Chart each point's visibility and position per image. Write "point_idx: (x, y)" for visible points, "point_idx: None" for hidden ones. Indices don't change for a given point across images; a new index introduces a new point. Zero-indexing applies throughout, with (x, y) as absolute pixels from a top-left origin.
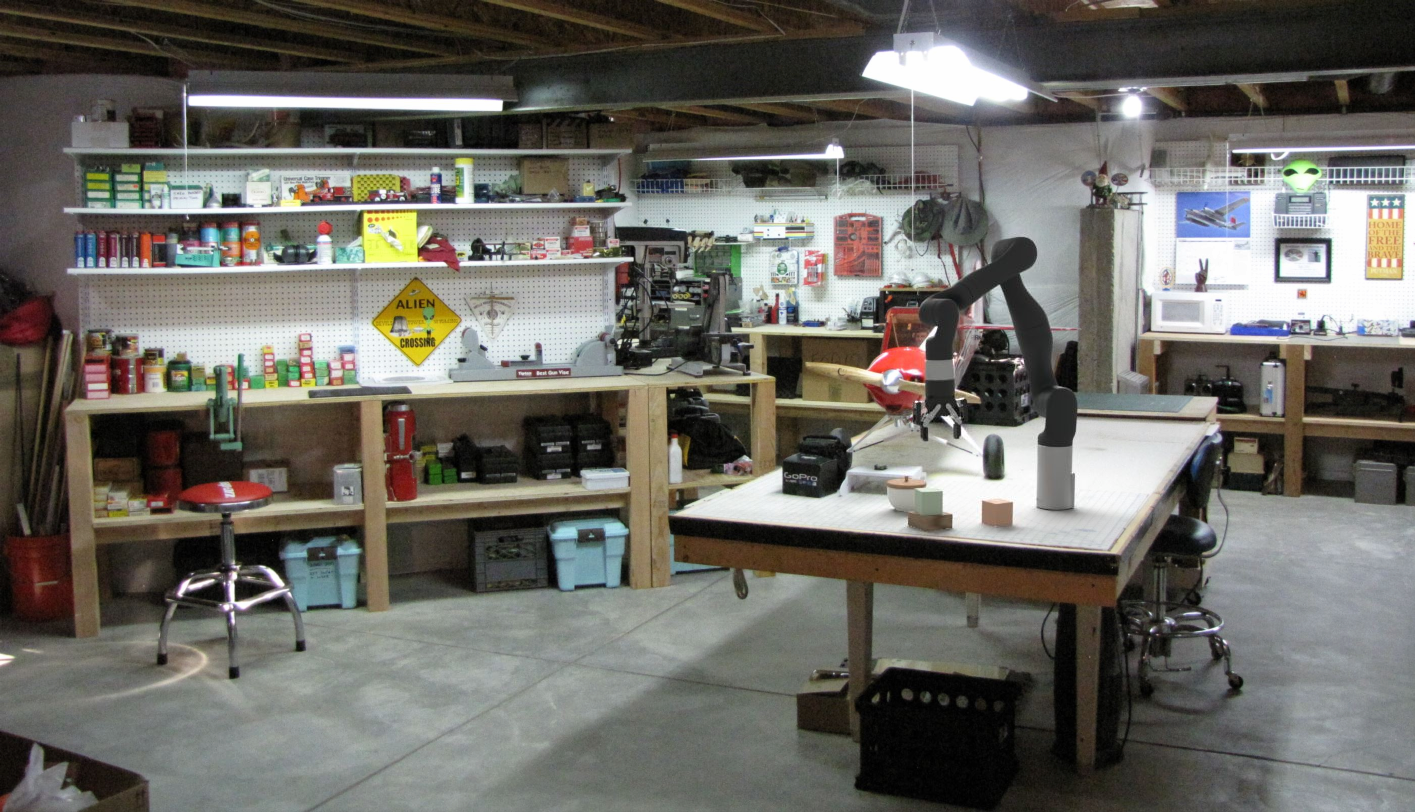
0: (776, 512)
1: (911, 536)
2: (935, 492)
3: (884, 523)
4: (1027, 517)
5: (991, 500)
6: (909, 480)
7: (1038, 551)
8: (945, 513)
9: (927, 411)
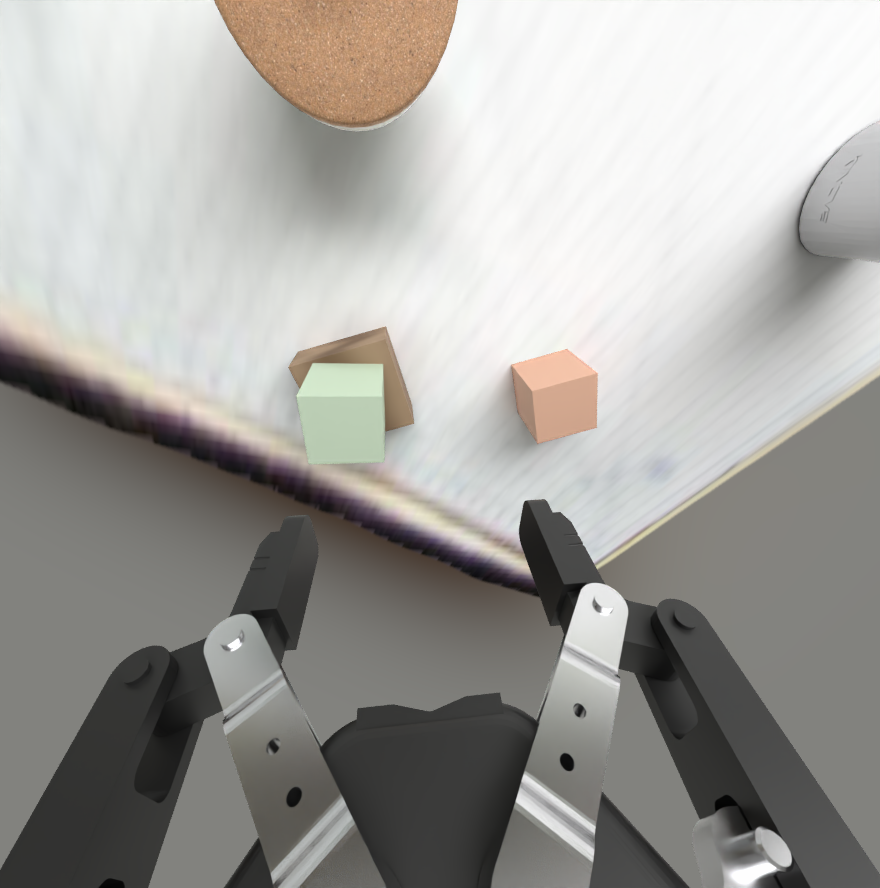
0: None
1: (287, 462)
2: (359, 460)
3: (224, 302)
4: (662, 326)
5: (557, 397)
6: None
7: (480, 573)
8: (398, 412)
9: (263, 802)
